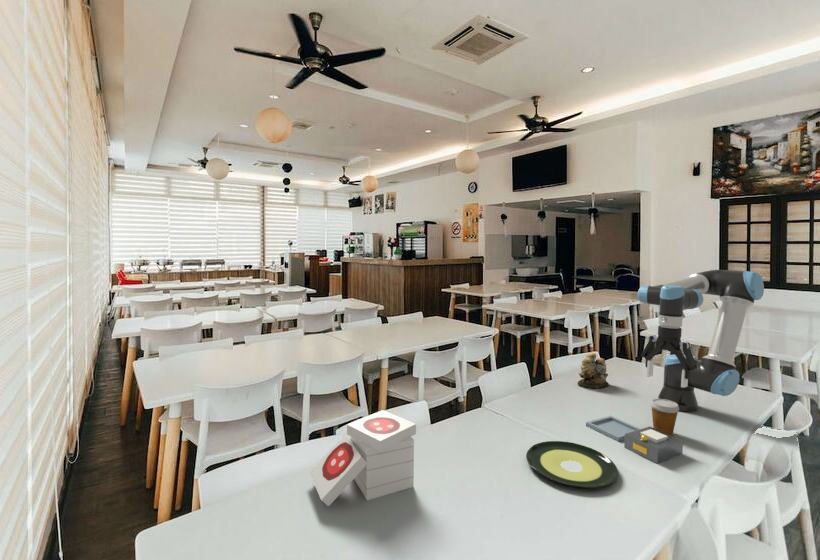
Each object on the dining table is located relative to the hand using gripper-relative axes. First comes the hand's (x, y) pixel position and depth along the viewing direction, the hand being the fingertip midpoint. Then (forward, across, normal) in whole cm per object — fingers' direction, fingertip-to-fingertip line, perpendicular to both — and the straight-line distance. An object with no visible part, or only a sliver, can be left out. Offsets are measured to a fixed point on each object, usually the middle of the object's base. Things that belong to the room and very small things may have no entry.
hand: (666, 381), depth 155 cm
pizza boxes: (+21, -18, -116) cm, 119 cm away
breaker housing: (+21, +7, -17) cm, 28 cm away
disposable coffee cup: (+21, 0, 0) cm, 21 cm away
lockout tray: (+21, -10, -15) cm, 27 cm away
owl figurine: (+21, -49, +20) cm, 57 cm away
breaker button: (+20, +7, -17) cm, 27 cm away
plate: (+21, +2, -52) cm, 56 cm away
